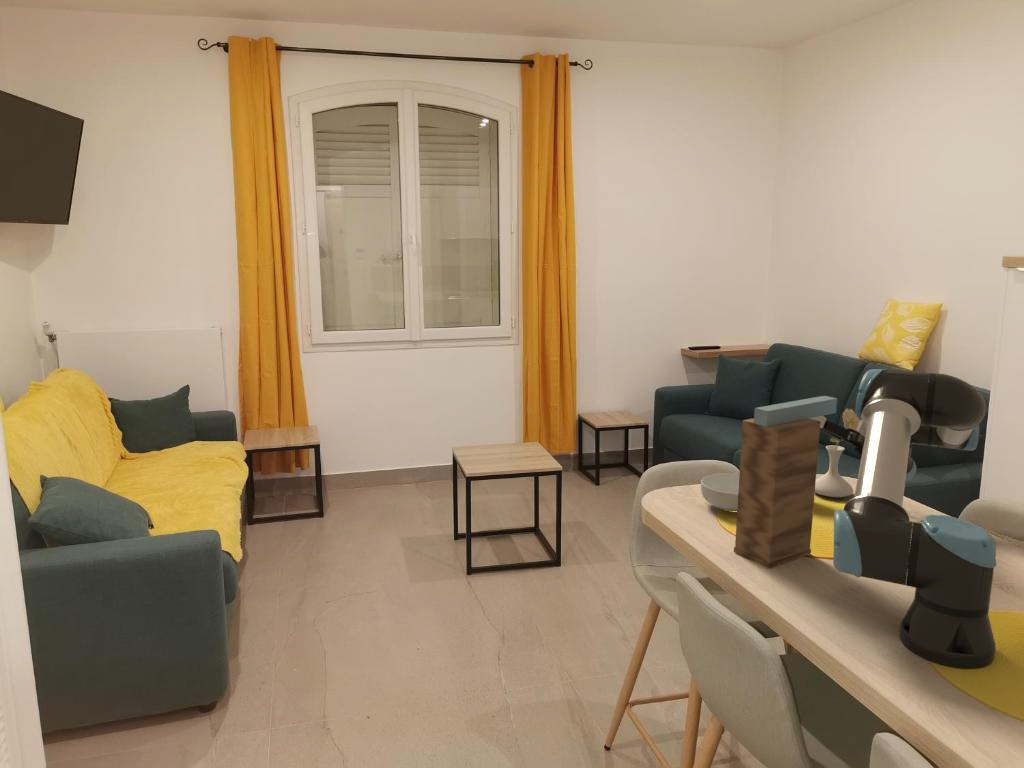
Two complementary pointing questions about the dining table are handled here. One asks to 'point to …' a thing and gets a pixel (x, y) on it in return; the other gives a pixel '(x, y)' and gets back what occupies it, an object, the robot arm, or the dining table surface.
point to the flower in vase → (832, 480)
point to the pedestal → (776, 491)
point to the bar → (795, 410)
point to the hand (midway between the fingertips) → (833, 419)
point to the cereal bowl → (721, 490)
